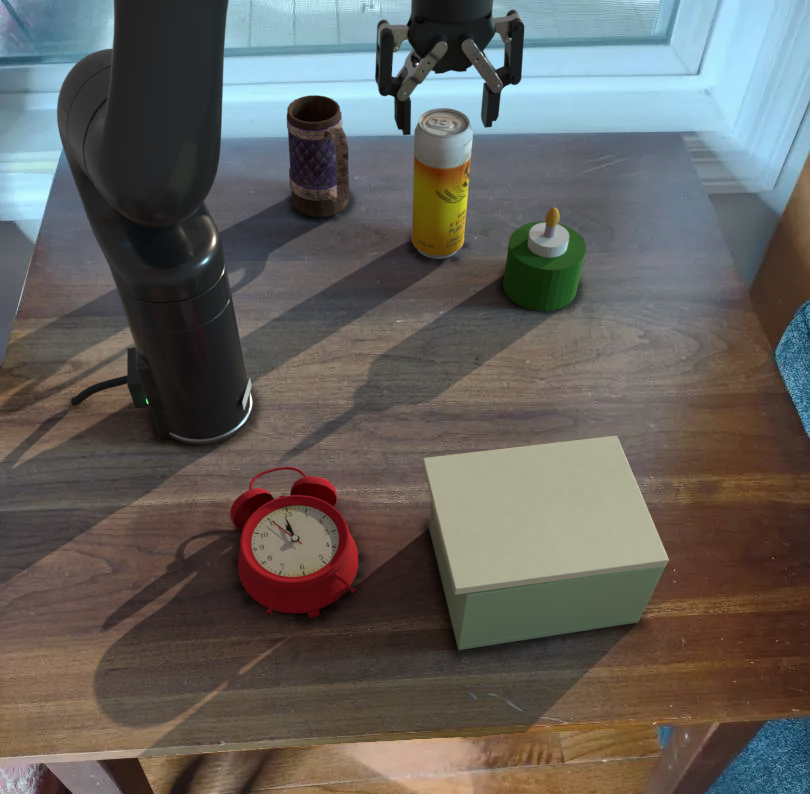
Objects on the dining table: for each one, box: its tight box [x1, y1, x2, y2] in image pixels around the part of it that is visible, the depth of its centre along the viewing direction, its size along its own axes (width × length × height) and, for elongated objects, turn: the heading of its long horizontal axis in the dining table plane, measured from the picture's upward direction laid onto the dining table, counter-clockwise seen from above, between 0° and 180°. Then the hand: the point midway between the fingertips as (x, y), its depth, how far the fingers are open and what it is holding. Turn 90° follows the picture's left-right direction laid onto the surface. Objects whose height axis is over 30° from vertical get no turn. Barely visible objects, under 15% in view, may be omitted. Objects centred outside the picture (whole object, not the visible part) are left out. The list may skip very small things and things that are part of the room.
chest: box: [428, 499, 666, 651], centre depth 72 cm, size 16×13×9 cm
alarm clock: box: [229, 466, 359, 619], centre depth 75 cm, size 10×6×15 cm
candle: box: [502, 207, 587, 312], centre depth 93 cm, size 8×8×10 cm
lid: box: [422, 435, 670, 595], centre depth 68 cm, size 16×13×1 cm
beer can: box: [411, 107, 474, 260], centre depth 95 cm, size 6×6×15 cm
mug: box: [286, 94, 350, 218], centre depth 100 cm, size 10×7×12 cm
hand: (445, 127), depth 89 cm, fingers open, 8 cm apart
